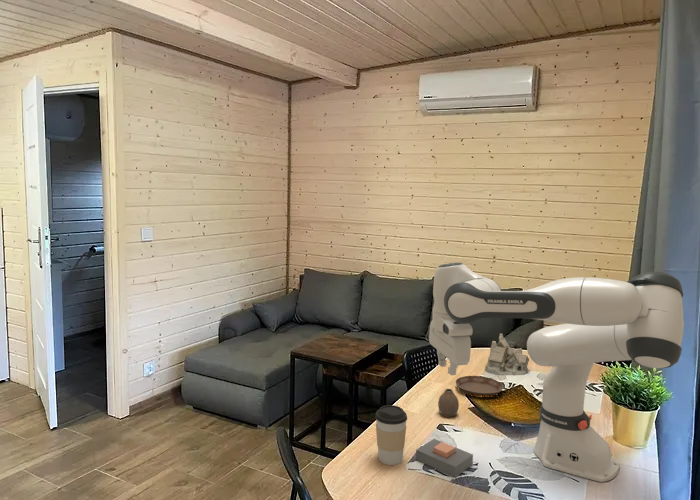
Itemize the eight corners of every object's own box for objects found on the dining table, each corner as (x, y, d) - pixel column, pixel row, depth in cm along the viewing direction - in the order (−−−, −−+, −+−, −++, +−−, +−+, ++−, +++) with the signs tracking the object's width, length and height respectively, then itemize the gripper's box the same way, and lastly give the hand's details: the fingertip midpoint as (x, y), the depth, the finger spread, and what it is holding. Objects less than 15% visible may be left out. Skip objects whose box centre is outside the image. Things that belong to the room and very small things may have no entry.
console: (472, 464, 144) (473, 454, 144) (455, 477, 138) (455, 467, 138) (433, 448, 153) (434, 438, 153) (415, 459, 147) (416, 449, 146)
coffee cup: (386, 447, 154) (387, 399, 152) (412, 457, 148) (413, 407, 146) (368, 459, 147) (368, 409, 145) (394, 470, 141) (395, 418, 139)
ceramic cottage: (479, 369, 219) (483, 335, 216) (500, 362, 230) (504, 330, 227) (512, 382, 207) (517, 346, 205) (532, 374, 218) (537, 340, 216)
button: (455, 458, 146) (455, 447, 145) (446, 464, 142) (446, 453, 142) (441, 452, 149) (442, 441, 148) (433, 458, 145) (433, 447, 145)
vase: (458, 419, 172) (459, 394, 171) (437, 417, 173) (438, 393, 172) (458, 411, 179) (459, 386, 178) (438, 409, 180) (438, 385, 179)
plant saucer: (476, 379, 209) (477, 371, 209) (512, 393, 194) (513, 386, 194) (445, 388, 199) (445, 381, 199) (480, 404, 185) (481, 396, 184)
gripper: (424, 312, 150) (423, 358, 152) (452, 332, 130) (451, 384, 132) (444, 311, 151) (443, 357, 153) (475, 330, 131) (473, 382, 133)
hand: (447, 370), depth 142 cm, fingers open, 5 cm apart
